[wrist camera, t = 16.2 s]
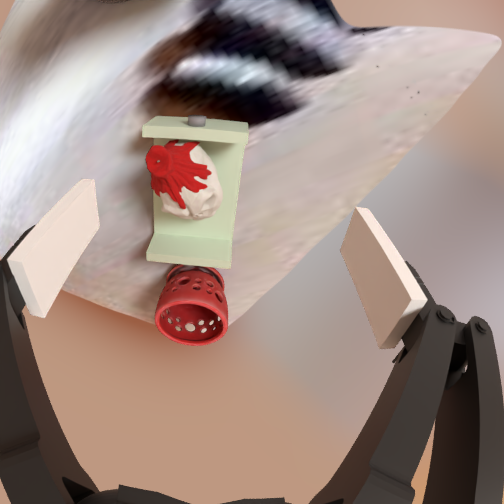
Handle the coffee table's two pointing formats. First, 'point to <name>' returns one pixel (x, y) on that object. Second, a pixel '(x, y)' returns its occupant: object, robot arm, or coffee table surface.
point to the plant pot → (193, 305)
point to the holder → (229, 171)
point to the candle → (184, 179)
